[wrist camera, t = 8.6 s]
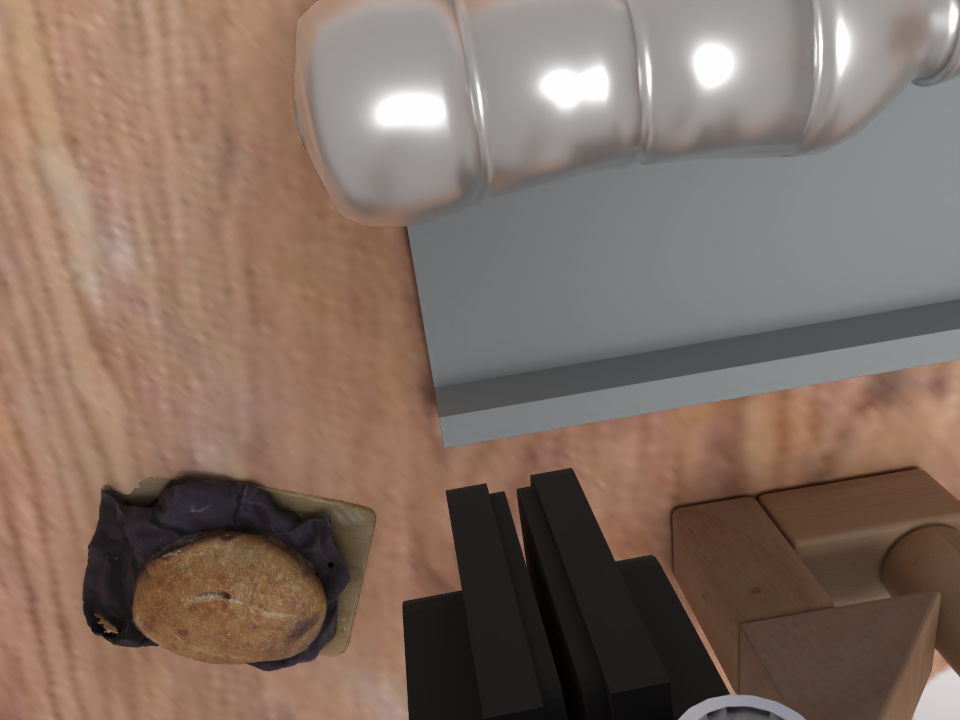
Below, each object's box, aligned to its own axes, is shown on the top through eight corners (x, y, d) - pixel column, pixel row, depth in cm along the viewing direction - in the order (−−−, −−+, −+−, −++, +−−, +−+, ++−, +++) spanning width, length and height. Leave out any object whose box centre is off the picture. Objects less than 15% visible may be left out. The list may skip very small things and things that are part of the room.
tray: (1119, 293, 34) (1185, 320, 31) (438, 409, 32) (444, 448, 30) (1203, -180, 27) (1296, -198, 25) (358, -61, 26) (356, -67, 23)
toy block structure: (669, 505, 35) (927, 951, 19) (921, 463, 36) (1382, 860, 20) (671, 577, 37) (913, 1050, 20) (913, 536, 38) (1337, 962, 21)
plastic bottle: (285, 4, 26) (920, -105, 27) (334, 222, 29) (917, 116, 29) (253, -13, 20) (1072, -153, 21) (318, 266, 23) (1055, 131, 23)
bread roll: (384, 490, 34) (386, 544, 31) (343, 658, 37) (341, 724, 34) (102, 447, 32) (71, 499, 29) (82, 628, 35) (52, 695, 32)
